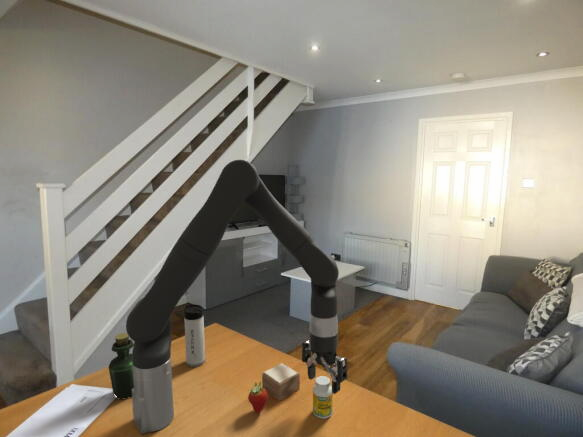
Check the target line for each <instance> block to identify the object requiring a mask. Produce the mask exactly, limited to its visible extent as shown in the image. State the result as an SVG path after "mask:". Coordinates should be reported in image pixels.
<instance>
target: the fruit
mask: <svg viewBox="0 0 583 437" xmlns="http://www.w3.org/2000/svg"><path fill="white" fill-rule="evenodd" d="M264 388H265V387H264ZM264 388H262V381H259V383H257V382H254V386H252V385H251V389H250V390H248V392H249V393H248V398H247V399H248V401H249V403H250V404H251V406H252V409H253V410H254V412H255V413H261V412H262V411H263V409H264V408H265V405H267V401H268V397H269V396H268V394H269V393H268V392H267V391H266V390H265V389H264Z"/></svg>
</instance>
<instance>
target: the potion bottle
mask: <svg viewBox="0 0 583 437" xmlns="http://www.w3.org/2000/svg"><path fill="white" fill-rule="evenodd" d="M114 339H115V342H114V343H113V344H112V347H111V351H112V352H114V353H116V355H117V356H115V357H114V358H112V359H111V360H110V362H109V364H108V373H109V377H110V383H111V388H112V393H114V394H115V395H116V396H117V398H120V399H119V400H124V399H123V398H127V399H129V398H128V397H130V398H132V397H131V396H132V389H133V388H134V379H133V365H132V353H130V350H131V349H133V347H134V341H133V340H132V339H131V338H130V337H129V335H128V334H127V332H120V333H119V334H118V333H117V334H116V335H115V336H114ZM114 394H113V395H114ZM117 398H116V399H117Z"/></svg>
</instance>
